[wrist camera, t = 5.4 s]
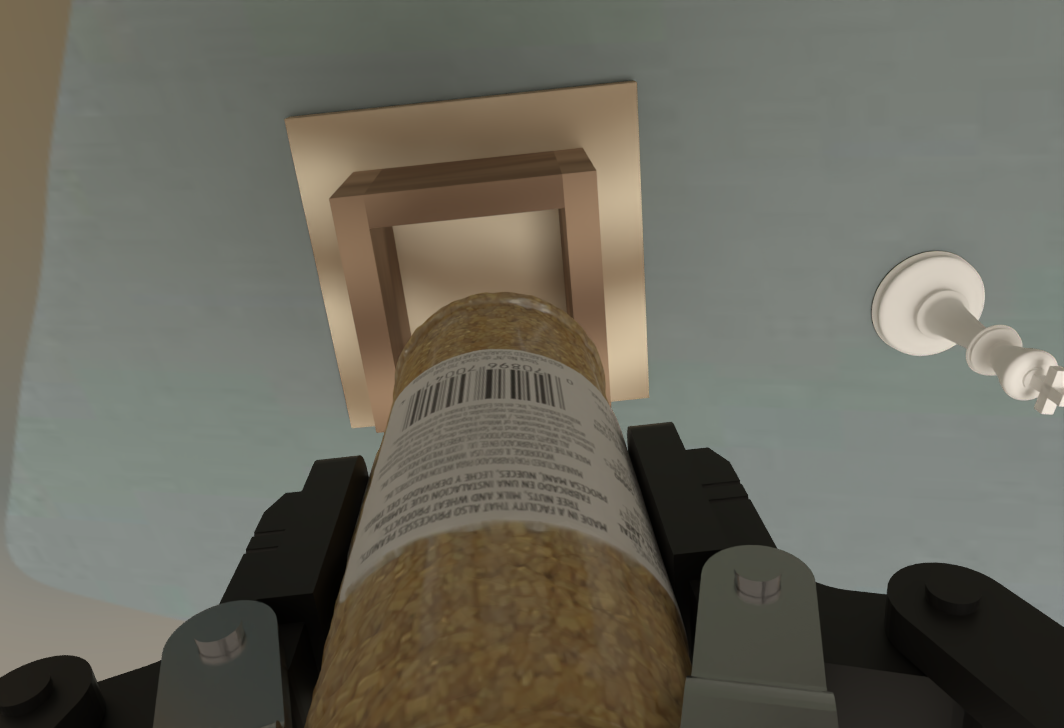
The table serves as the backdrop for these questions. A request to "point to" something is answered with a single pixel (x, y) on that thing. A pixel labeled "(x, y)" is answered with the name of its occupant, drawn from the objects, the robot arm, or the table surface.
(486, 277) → the socket
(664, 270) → the table surface
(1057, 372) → the chess piece
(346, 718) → the sprinkles bottle
